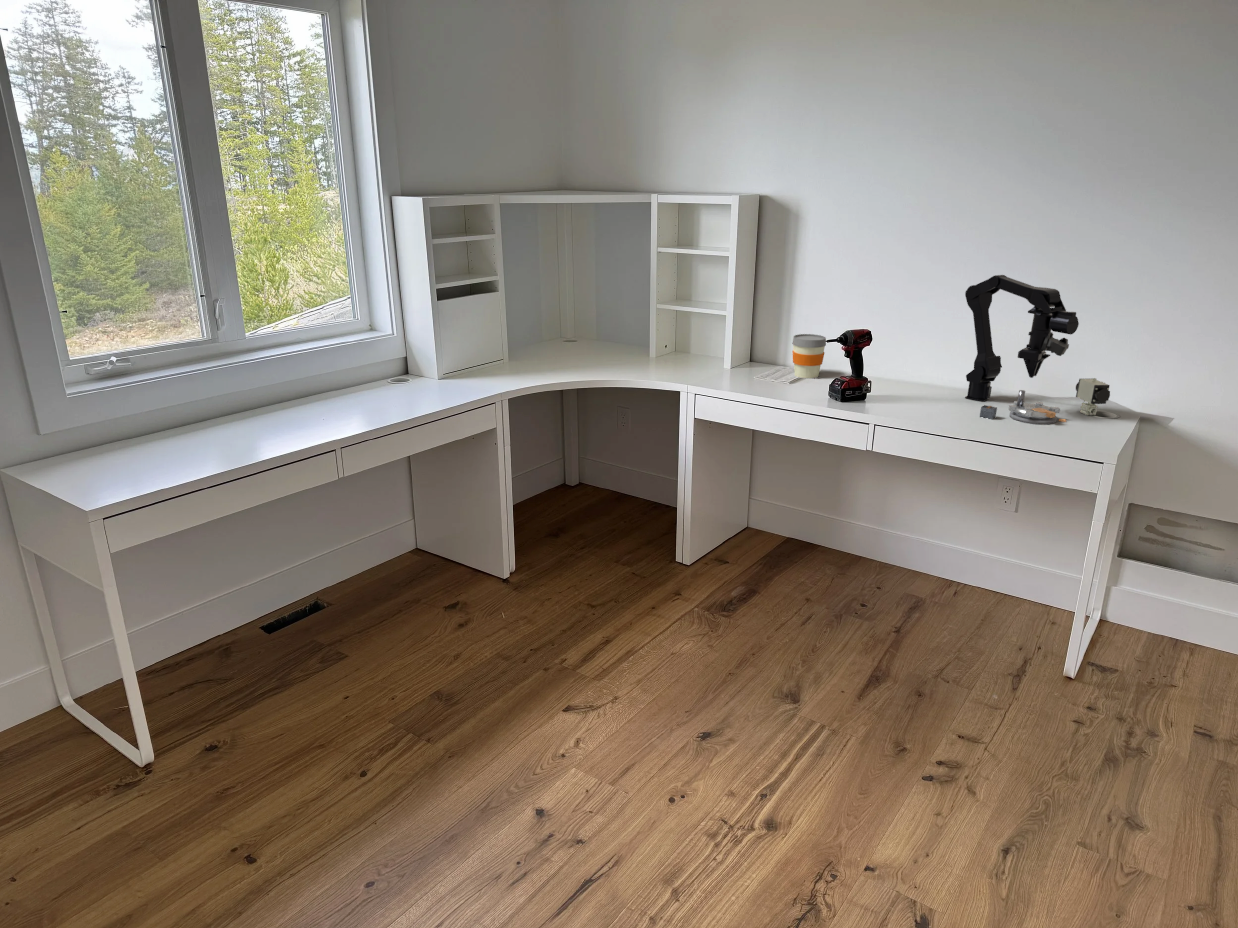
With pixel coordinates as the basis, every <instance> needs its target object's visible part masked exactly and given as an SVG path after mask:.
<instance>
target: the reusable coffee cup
mask: <svg viewBox="0 0 1238 928" xmlns="http://www.w3.org/2000/svg"><path fill="white" fill-rule="evenodd" d="M791 343H792V346H793V349H792V363H793V365H794V366H793V367H794V377H797V378H800V379H816V378H818V377H819V375H820V374H819V373H820V370H821V366H822V365H823V361H824V356H825V347H826V346H827V337H826V336H824V335H821V334H813V333H802V334H801V333H799V334H795V335H793V337H792V342H791Z"/></svg>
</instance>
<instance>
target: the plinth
mask: <svg viewBox="0 0 1238 928" xmlns="http://www.w3.org/2000/svg"><path fill="white" fill-rule="evenodd" d="M1009 417H1010V418H1011V419H1013V420H1015V421H1017V422H1021V423H1025V424H1032V425H1053V424H1055V423H1056V422H1057V416H1056V415H1055V417H1054V418H1052V419H1048V420H1037V419H1028V418H1024V417H1020V416H1017V415H1015V414H1014V413H1013V411H1009ZM1058 422H1062V423H1066V422H1067V419H1064V418H1059V419H1058Z"/></svg>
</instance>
